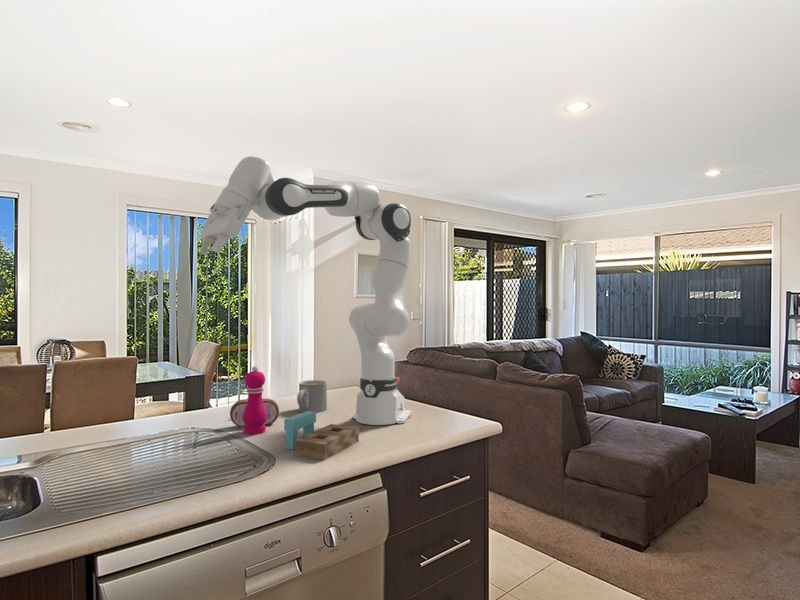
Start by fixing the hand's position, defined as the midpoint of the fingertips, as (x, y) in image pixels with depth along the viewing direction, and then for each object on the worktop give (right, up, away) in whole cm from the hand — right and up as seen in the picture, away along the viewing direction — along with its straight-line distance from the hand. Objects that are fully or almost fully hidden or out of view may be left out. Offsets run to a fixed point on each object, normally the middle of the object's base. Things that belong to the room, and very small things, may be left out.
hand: (208, 252), depth 132 cm
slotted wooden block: (+31, -53, +4) cm, 61 cm away
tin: (+4, -53, +28) cm, 60 cm away
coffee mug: (+18, -53, +49) cm, 74 cm away
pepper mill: (+6, -53, +20) cm, 57 cm away
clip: (+23, -53, +8) cm, 58 cm away
